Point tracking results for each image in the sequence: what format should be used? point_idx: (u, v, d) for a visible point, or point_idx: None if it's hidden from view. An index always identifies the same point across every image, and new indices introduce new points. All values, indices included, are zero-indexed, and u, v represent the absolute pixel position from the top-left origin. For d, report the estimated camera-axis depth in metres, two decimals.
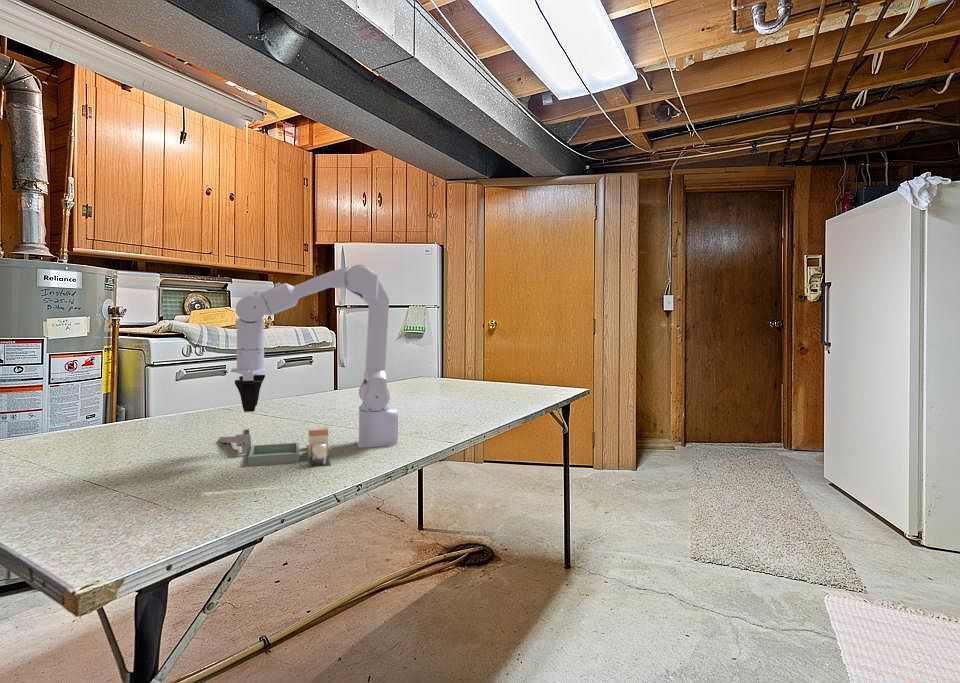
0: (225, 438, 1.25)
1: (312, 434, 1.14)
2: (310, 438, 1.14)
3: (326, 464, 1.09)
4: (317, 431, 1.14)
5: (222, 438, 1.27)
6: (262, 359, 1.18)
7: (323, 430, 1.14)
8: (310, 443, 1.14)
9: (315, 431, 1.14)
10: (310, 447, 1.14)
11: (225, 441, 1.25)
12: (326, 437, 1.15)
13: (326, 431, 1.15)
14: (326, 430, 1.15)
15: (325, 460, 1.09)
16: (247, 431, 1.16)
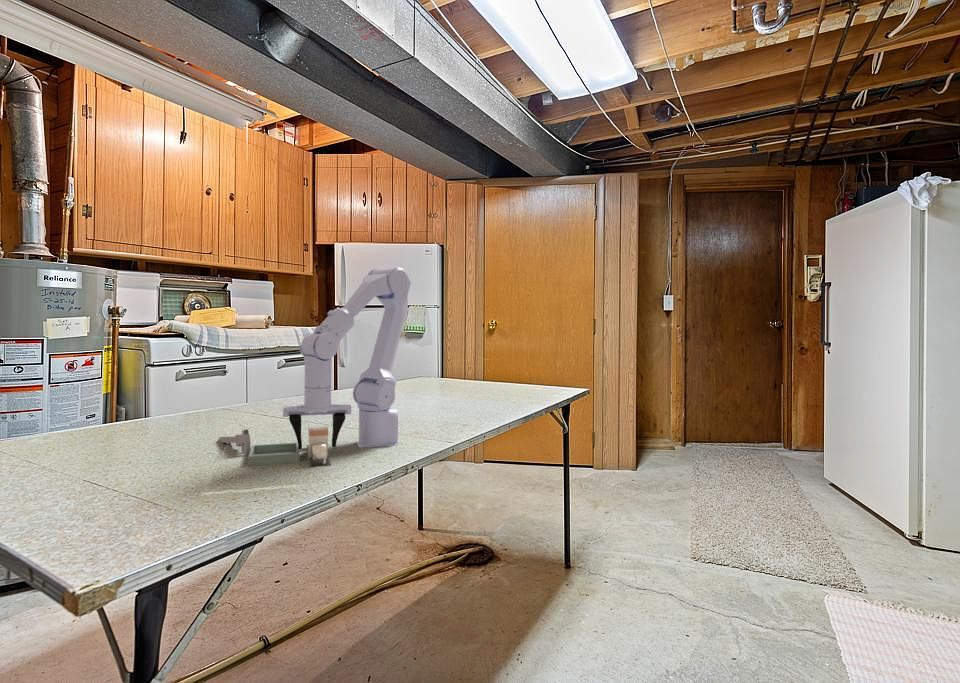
0: (225, 438, 1.25)
1: (312, 434, 1.14)
2: (310, 438, 1.14)
3: (326, 464, 1.09)
4: (317, 431, 1.14)
5: (222, 438, 1.27)
6: (312, 399, 1.13)
7: (323, 430, 1.14)
8: (310, 443, 1.14)
9: (315, 431, 1.14)
10: (310, 447, 1.14)
11: (225, 441, 1.25)
12: (326, 437, 1.15)
13: (326, 431, 1.15)
14: (326, 430, 1.15)
15: (325, 460, 1.09)
16: (246, 431, 1.15)
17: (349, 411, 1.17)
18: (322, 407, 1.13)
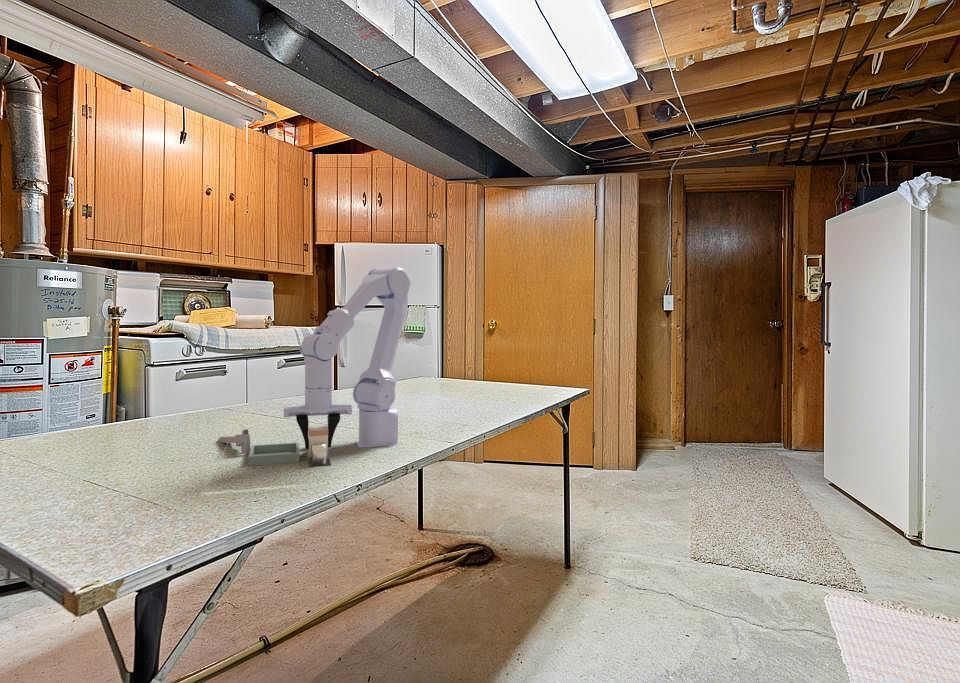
0: (225, 438, 1.25)
1: (312, 434, 1.14)
2: (310, 438, 1.14)
3: (326, 464, 1.09)
4: (317, 431, 1.14)
5: (222, 438, 1.27)
6: (313, 399, 1.13)
7: (323, 430, 1.14)
8: (310, 443, 1.14)
9: (315, 431, 1.14)
10: (310, 447, 1.14)
11: (225, 441, 1.25)
12: (326, 437, 1.15)
13: (326, 431, 1.15)
14: (326, 430, 1.15)
15: (325, 460, 1.09)
16: (246, 431, 1.15)
17: (350, 411, 1.17)
18: (323, 407, 1.13)
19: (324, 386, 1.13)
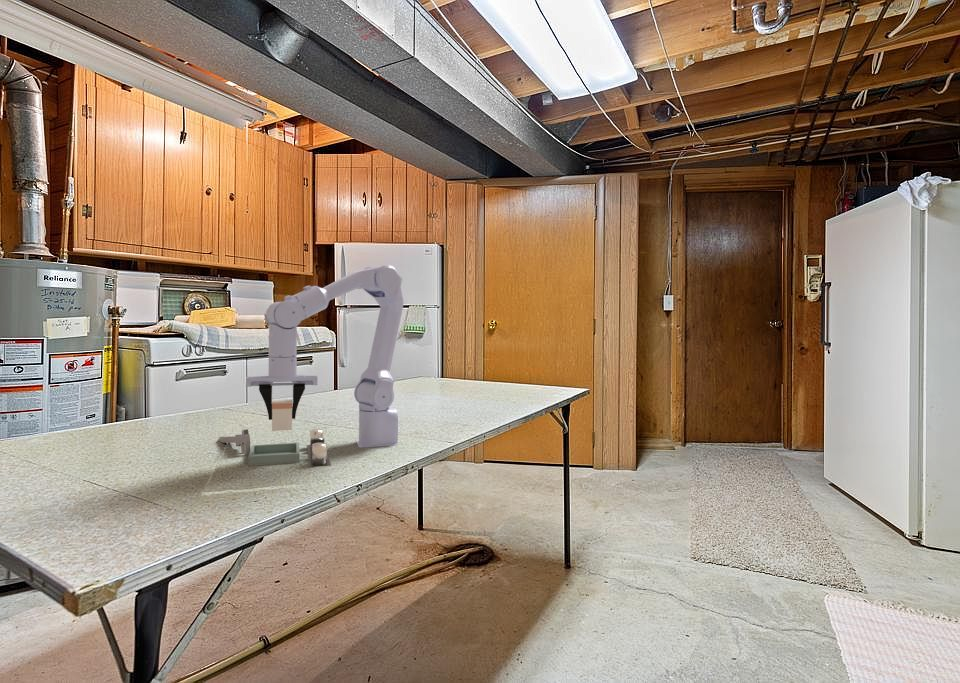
0: (225, 437, 1.25)
1: (275, 407, 1.11)
2: (273, 411, 1.11)
3: (326, 464, 1.09)
4: (281, 404, 1.11)
5: (222, 438, 1.27)
6: (276, 368, 1.10)
7: (287, 403, 1.12)
8: (273, 416, 1.11)
9: (278, 404, 1.11)
10: (273, 420, 1.11)
11: (225, 441, 1.25)
12: (290, 410, 1.12)
13: (290, 404, 1.12)
14: (290, 403, 1.12)
15: (325, 460, 1.09)
16: (246, 431, 1.15)
17: (315, 382, 1.14)
18: (286, 377, 1.11)
19: (286, 355, 1.10)
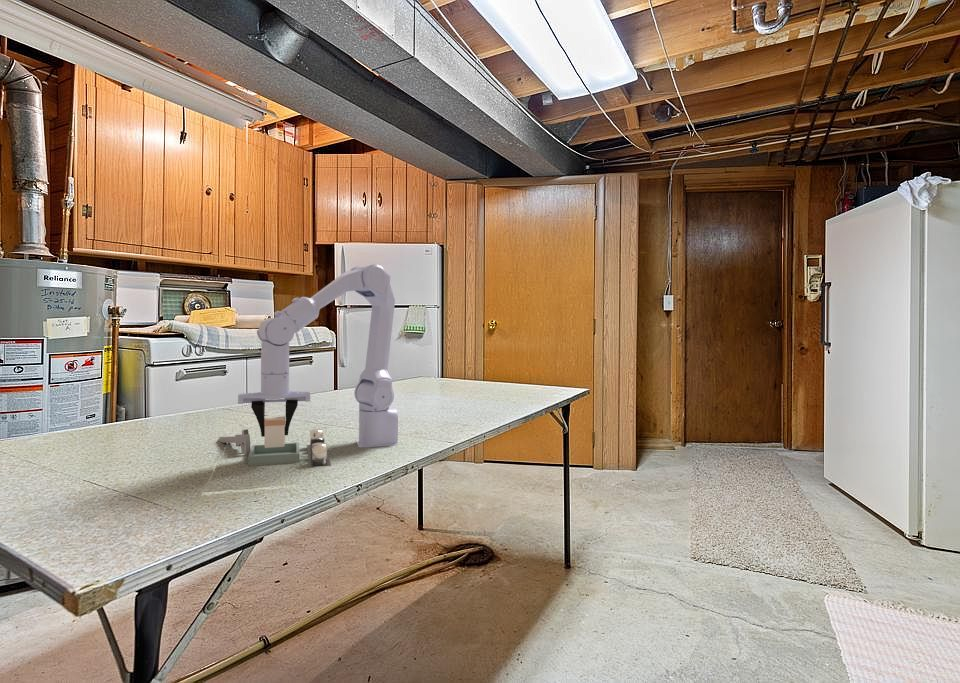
0: (225, 438, 1.25)
1: (268, 424, 1.10)
2: (266, 428, 1.10)
3: (326, 464, 1.09)
4: (273, 421, 1.11)
5: (222, 438, 1.27)
6: (268, 385, 1.10)
7: (279, 420, 1.11)
8: (266, 433, 1.10)
9: (271, 421, 1.11)
10: (266, 437, 1.11)
11: (225, 441, 1.25)
12: (283, 427, 1.12)
13: (282, 421, 1.11)
14: (283, 420, 1.11)
15: (325, 460, 1.09)
16: (246, 431, 1.16)
17: (308, 398, 1.14)
18: (278, 394, 1.10)
19: (278, 372, 1.10)
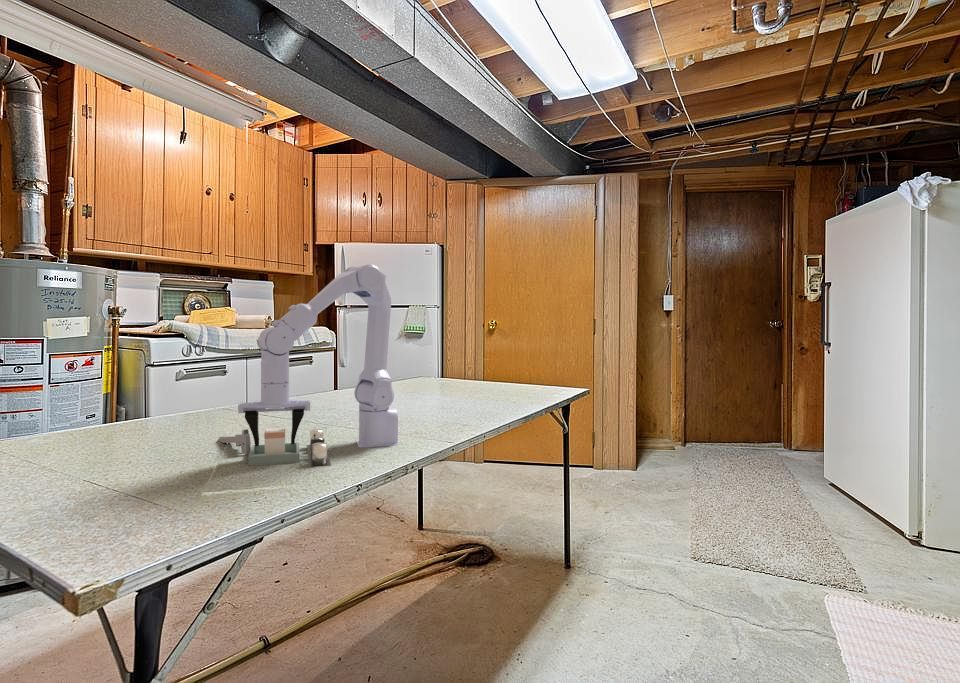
0: (225, 438, 1.25)
1: (268, 436, 1.11)
2: (266, 440, 1.11)
3: (326, 464, 1.09)
4: (273, 433, 1.11)
5: (221, 438, 1.27)
6: (268, 394, 1.10)
7: (279, 432, 1.11)
8: (266, 446, 1.11)
9: (271, 433, 1.11)
10: (266, 450, 1.11)
11: (225, 441, 1.25)
12: (283, 439, 1.12)
13: (282, 433, 1.12)
14: (283, 432, 1.12)
15: (325, 460, 1.09)
16: (246, 431, 1.16)
17: (308, 407, 1.14)
18: (278, 403, 1.10)
19: (277, 381, 1.10)
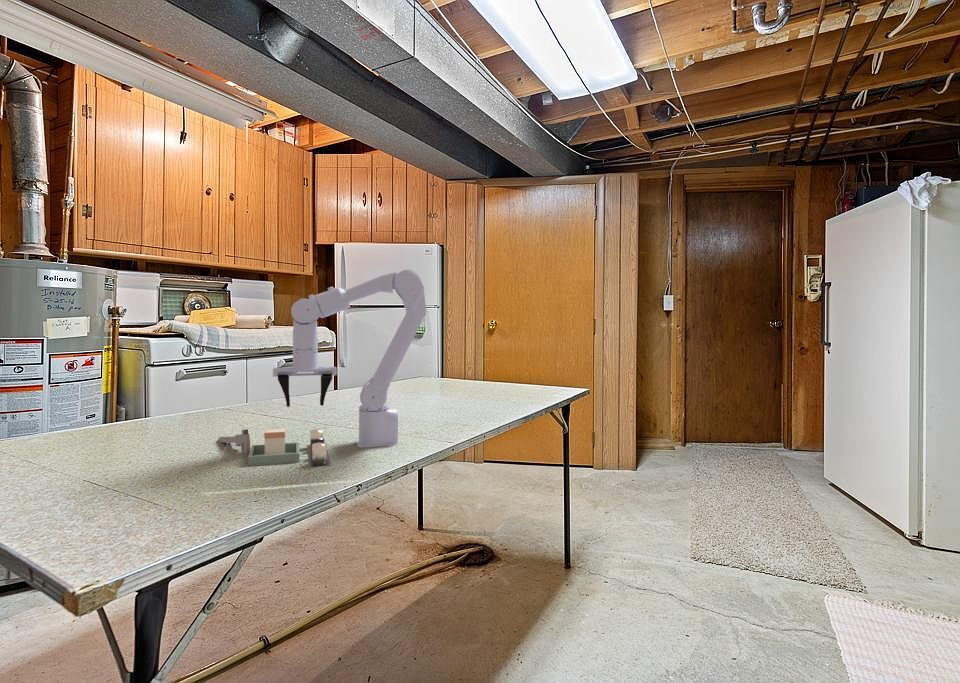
0: (225, 437, 1.25)
1: (268, 436, 1.11)
2: (266, 440, 1.11)
3: (326, 464, 1.09)
4: (273, 433, 1.11)
5: (221, 438, 1.27)
6: (300, 360, 1.22)
7: (279, 432, 1.11)
8: (266, 446, 1.11)
9: (271, 433, 1.11)
10: (266, 450, 1.11)
11: (224, 441, 1.25)
12: (283, 439, 1.12)
13: (282, 433, 1.12)
14: (283, 432, 1.12)
15: (325, 460, 1.09)
16: (246, 431, 1.16)
17: (334, 372, 1.26)
18: (309, 367, 1.22)
19: (302, 348, 1.22)
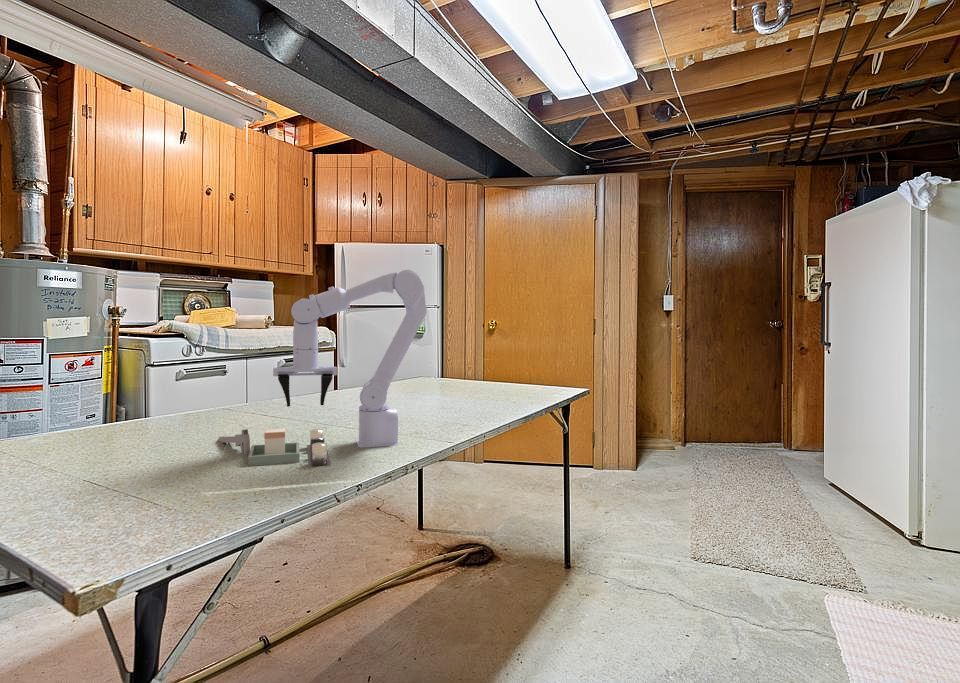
0: (225, 437, 1.25)
1: (268, 436, 1.11)
2: (266, 440, 1.11)
3: (326, 464, 1.09)
4: (273, 433, 1.11)
5: (221, 438, 1.27)
6: (300, 359, 1.22)
7: (279, 432, 1.11)
8: (266, 446, 1.11)
9: (271, 433, 1.11)
10: (266, 450, 1.11)
11: (224, 441, 1.25)
12: (283, 439, 1.12)
13: (282, 433, 1.12)
14: (283, 432, 1.12)
15: (325, 460, 1.09)
16: (246, 431, 1.16)
17: (335, 372, 1.26)
18: (309, 367, 1.23)
19: (302, 348, 1.22)
